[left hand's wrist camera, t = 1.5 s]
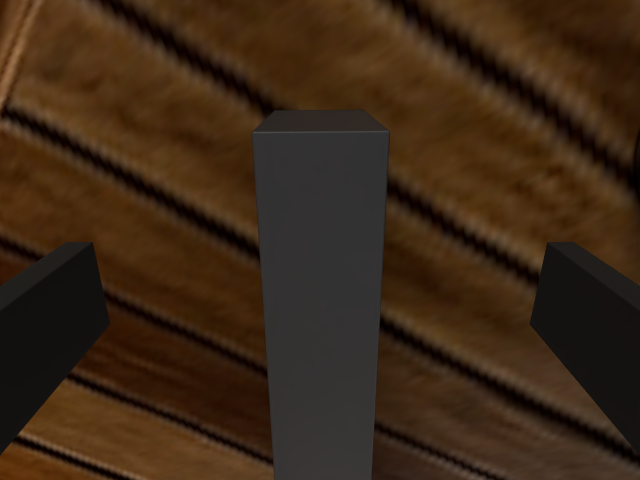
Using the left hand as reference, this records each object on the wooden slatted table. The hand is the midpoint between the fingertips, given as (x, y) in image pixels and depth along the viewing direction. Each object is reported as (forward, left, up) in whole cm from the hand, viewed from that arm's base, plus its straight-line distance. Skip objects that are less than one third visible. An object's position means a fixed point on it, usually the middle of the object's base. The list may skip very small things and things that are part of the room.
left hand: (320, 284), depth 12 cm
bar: (-4, +7, -15) cm, 17 cm away
